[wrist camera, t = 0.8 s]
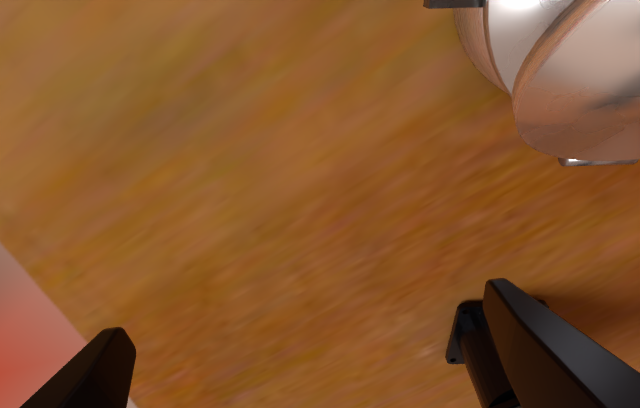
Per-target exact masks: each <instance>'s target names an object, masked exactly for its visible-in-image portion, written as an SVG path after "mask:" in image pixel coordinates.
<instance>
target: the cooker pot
mask: <svg viewBox="0 0 640 408" xmlns="http://www.w3.org/2000/svg"><path fill="white" fill-rule="evenodd" d="M572 1H574V0H424V5H423V6H424V7H426V8H429V9H432V8H453V13H454V20H455V25H456V28H457V32H458V35H459V39H460V41H461V43H462V46H463V48H464V50H465V52H466V54H467V56H468V57H469V59H470V60H471V62H472V63H473V65H474V66H475V67H476V68H477V69H478V70H479V72H480V73H481V74H482V75H483V76H484V77H485V78H487V79H488V80H489V81H491V82H492V83H493V84H494V85H496V86H497V87H499V88H500V89H502V90H503V91H505V92H506V93H507V94H508V95H509V96H510V97H511V98H512V90H513V86H514V81H515V78H516V76H517V73H518V71H519V69H520V67H521V65H522V63H523V61H524V59H525V58H526V56H527V55H528V53H529V52H530V50H531V49H532V47H533V46H534V44H535V43H536V41H537V40H538V39H539V37H540V36H541V35H542V34H543V33H544V32H545V30H546V29H547V28H548V27H549V26H550V25H551V23H552V22H553V21H554V20H555V19H556V17H557V16H558V15H559V14H560V13H561V12H562V11H563V10H564V9H565V8H566V7H567V6H568V5H569V4H570V3H571V2H572Z"/></svg>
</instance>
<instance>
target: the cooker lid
mask: <svg viewBox="0 0 640 408" xmlns="http://www.w3.org/2000/svg"><path fill="white" fill-rule="evenodd" d="M512 108H513V113H514V117H515V122H516V127H517V129H518V132H519V135H520V136H521V138H522V139H523V140H524V141H525V142H526V143H527V144H528V145H529V146H531V147H532V148H534V149H535V150H538V151H540V152H543V153H545V154H548V155H552V156H556V157H558V160H559V163H560V165H562V166H590V165H627V164H635V163H636V162H637V161H638V160H639V159H640V0H574V1H572V2H571V3H570V4H569V5H568V6H567V7H566V8H565V9H564V10H563V11H562V12H561V13H560V14H559V15H558V16H557V17H556V19H555V20H554V21H553V22H552V23H551V25H550V26H549V27H548V28H547V29H546V30H545V32H544V33H543V34H542V35H541V36H540V37H539V39H538V40H537V41H536V43H535V44H534V46H533V47H532V49H531V50H530V52H529V53H528V55H527V56H526V58H525V59H524V61H523V63H522V65H521V67H520V69H519V71H518V73H517V76H516V78H515V81H514V86H513V90H512Z"/></svg>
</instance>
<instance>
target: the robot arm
mask: <svg viewBox="0 0 640 408" xmlns="http://www.w3.org/2000/svg"><path fill="white" fill-rule="evenodd" d="M445 358H446V360H447V363H449V364H465V365H466V368H467V370H468V373H469V375H470V378H471V381H472V383H473V386H474V388H475V391H476V394H477V396H478V399H479V401H480V404H481V406H482V408H640V373H639V372H638V371H636V370H635V369H633V368H632V367H630V366H629V365H628V364H626V363H625V362H623V361H622V360H620V359H619V358H618V357H616V356H615V355H613V354H612V353H611V352H609V351H608V350H606V349H605V348H603V347H602V346H601V345H599V344H598V343H596V342H595V341H594V340H592V339H591V338H589V337H588V336H586V335H585V334H584V333H582V332H581V331H579V330H578V329H577V328H575V327H574V326H572V325H571V324H569V323H568V322H567V321H565V320H564V319H562V318H561V317H559V316H558V315H557V314H555V313H554V312H552V311H551V310H550V309H549V307H548V305H547V304H546V302H545V301H542V300H538V301H537V300H535V299H534V298H533V297H531V296H530V295H528V294H527V293H525V292H524V291H523V290H521V289H520V288H518V287H517V286H515V285H514V284H513V283H511V282H510V281H508V280H507V279H504V278H498V279H490V280H488V281H487V282H486V284H485V291H484V298H483V302H474V303H462V304H460V305H459V306H458V307H457V310H456V315H455V319H454V323H453V327H452V331H451V335H450V339H449V343H448V347H447V351H446V356H445ZM135 359H136V349H135V346H134V344H133V343H132V341H131V339H130V338H129V336H128V335H127V333H126V331H125V330H124V329H123V328H121V327H114V328H107V329H104V330H102V331H101V332H100V333H99V334H98V335H97V336H96V337H95V338H93V339H92V340H91V341H90V342H89V343H88V344H87V345H86V346H85V347H84V348H83V349H82V350H81V351H80V352H78V353H77V354H76V355H75V356H74V357H73V358H72V359H71V360H70V361H69V362H68V363H67V364H66V365H65V366H63V368H61V369H60V370H59V371H58V372H57V373H56V374H55V375H54V376H53V377H52V378H51V379H50V380H49V381H47V382H46V383H45V384H44V385H43V386H42V387H41V388H40V389H39V390H38V391H37V392H36V393H35V394H34V395H32V396H31V397H30V398H29V399H28V400H27V401H26V402H25V403H24V404H23V405H22V406H21V407H20V408H126V407H127V401H128V396H129V391H130V385H131V380H132V375H133V369H134V364H135Z"/></svg>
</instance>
